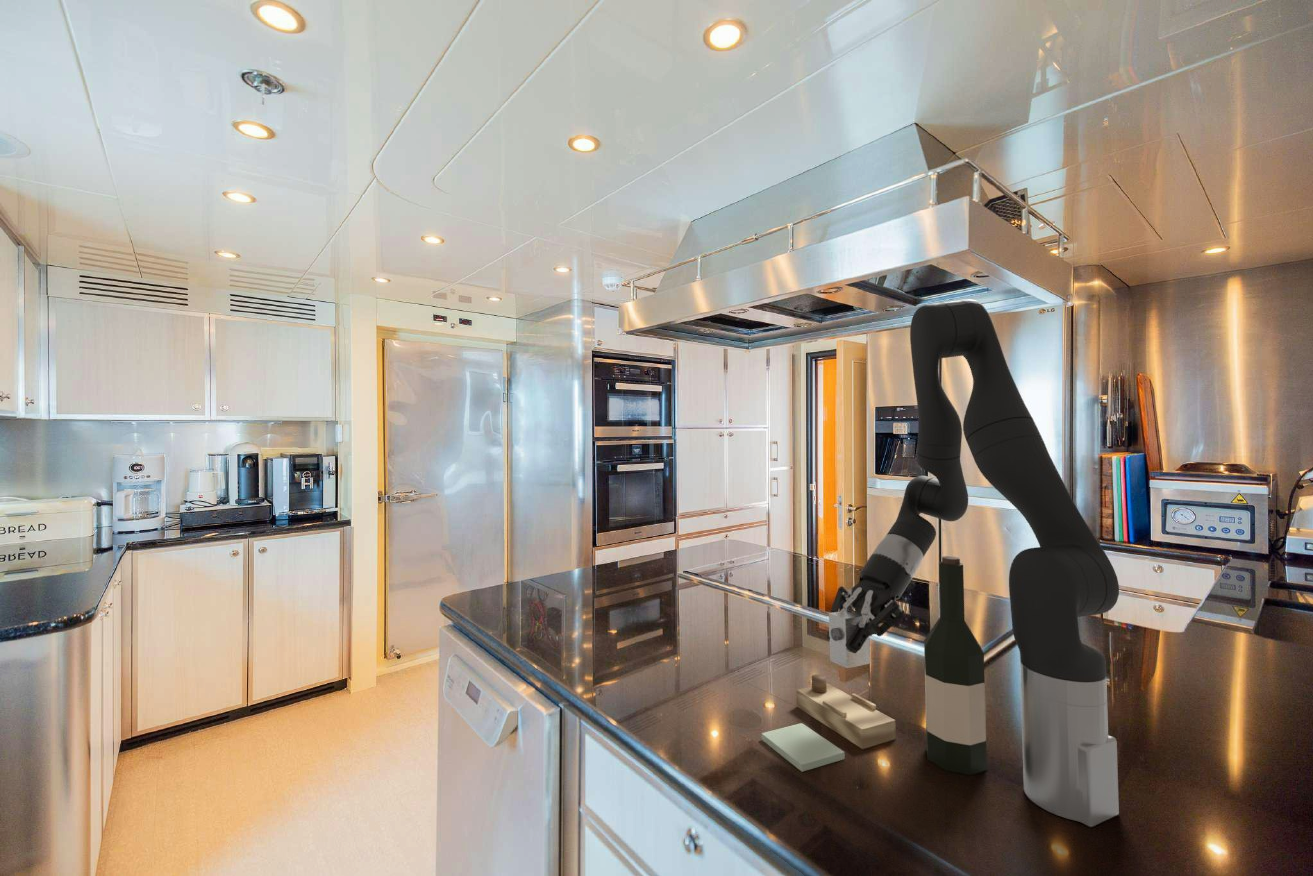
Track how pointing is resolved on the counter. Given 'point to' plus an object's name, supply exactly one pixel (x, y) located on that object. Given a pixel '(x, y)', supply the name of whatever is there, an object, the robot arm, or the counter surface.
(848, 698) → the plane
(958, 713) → the wine bottle
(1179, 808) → the counter surface
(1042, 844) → the counter surface
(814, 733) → the pad
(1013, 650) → the counter surface
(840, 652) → the grey upright block
